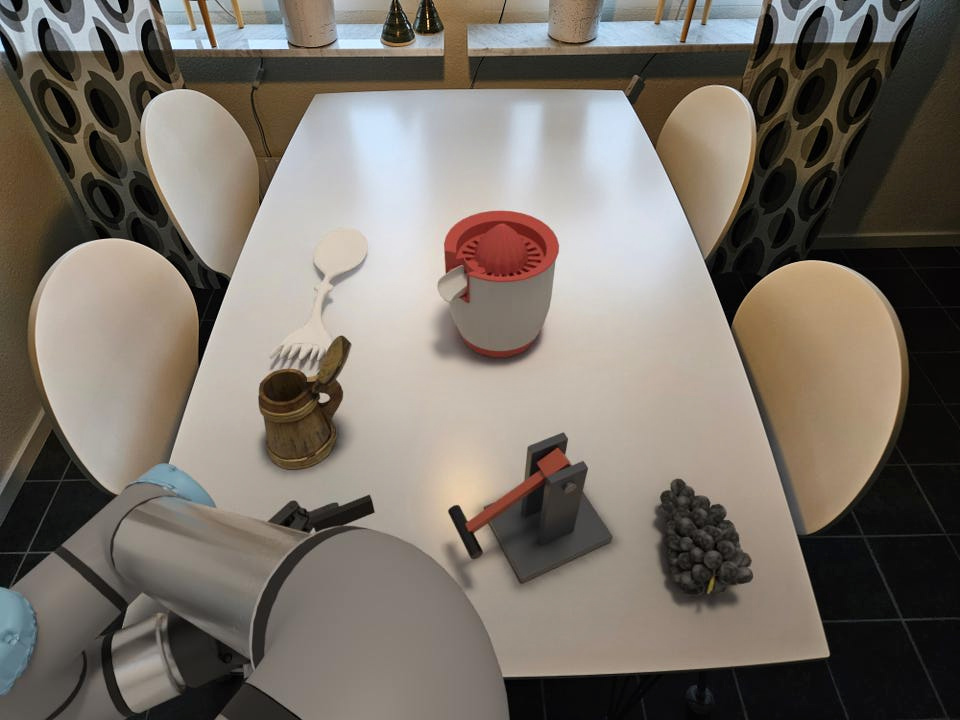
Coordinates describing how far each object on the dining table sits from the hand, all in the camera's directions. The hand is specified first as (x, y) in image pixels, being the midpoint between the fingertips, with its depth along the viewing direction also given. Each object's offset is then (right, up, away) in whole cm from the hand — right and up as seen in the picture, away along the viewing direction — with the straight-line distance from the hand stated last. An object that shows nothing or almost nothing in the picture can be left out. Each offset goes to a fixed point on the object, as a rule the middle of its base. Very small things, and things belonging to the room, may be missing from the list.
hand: (394, 556), depth 66 cm
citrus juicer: (+11, +24, +34) cm, 43 cm away
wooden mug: (-13, +9, +20) cm, 26 cm away
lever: (+13, +5, +3) cm, 14 cm away
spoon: (-16, +30, +39) cm, 52 cm away
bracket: (+17, 0, +12) cm, 20 cm away
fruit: (+34, -2, +10) cm, 35 cm away
